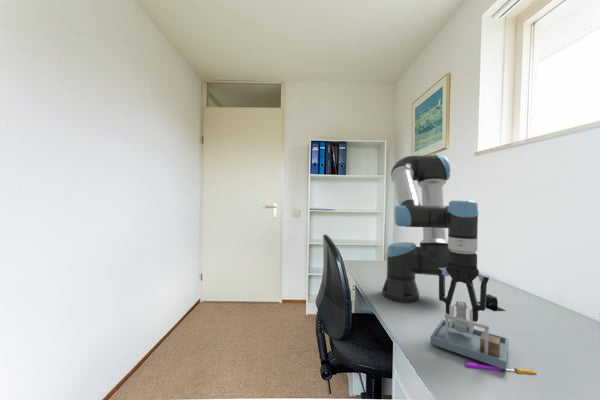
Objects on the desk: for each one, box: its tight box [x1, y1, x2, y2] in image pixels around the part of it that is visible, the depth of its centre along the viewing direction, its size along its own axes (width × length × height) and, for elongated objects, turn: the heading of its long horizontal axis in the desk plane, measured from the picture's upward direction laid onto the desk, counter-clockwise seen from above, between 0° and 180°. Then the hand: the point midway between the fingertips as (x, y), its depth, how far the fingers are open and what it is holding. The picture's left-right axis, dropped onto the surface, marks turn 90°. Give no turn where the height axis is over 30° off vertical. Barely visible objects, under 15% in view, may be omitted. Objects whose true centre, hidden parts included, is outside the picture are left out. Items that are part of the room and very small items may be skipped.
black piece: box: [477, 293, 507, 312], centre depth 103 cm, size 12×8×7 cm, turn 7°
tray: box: [430, 313, 509, 371], centre depth 73 cm, size 14×17×10 cm
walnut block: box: [480, 333, 500, 358], centre depth 68 cm, size 4×4×4 cm
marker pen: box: [464, 360, 537, 375], centre depth 65 cm, size 3×1×16 cm
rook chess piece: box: [453, 300, 469, 333], centre depth 77 cm, size 4×4×8 cm
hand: (461, 328), depth 77 cm, fingers closed on rook chess piece, 4 cm apart
